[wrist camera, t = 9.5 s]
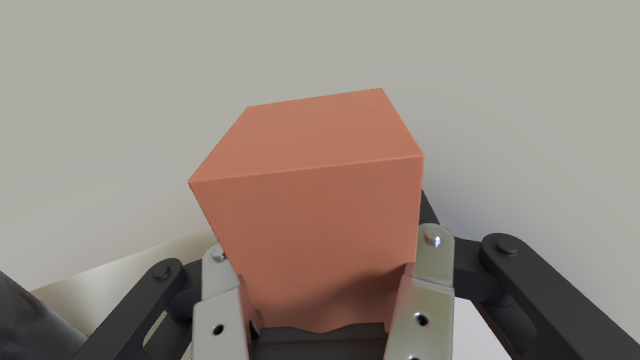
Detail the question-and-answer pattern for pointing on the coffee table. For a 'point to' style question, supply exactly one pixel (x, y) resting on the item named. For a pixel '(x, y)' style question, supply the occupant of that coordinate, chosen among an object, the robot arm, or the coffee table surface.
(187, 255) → the coffee table surface
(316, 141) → the terracotta block
